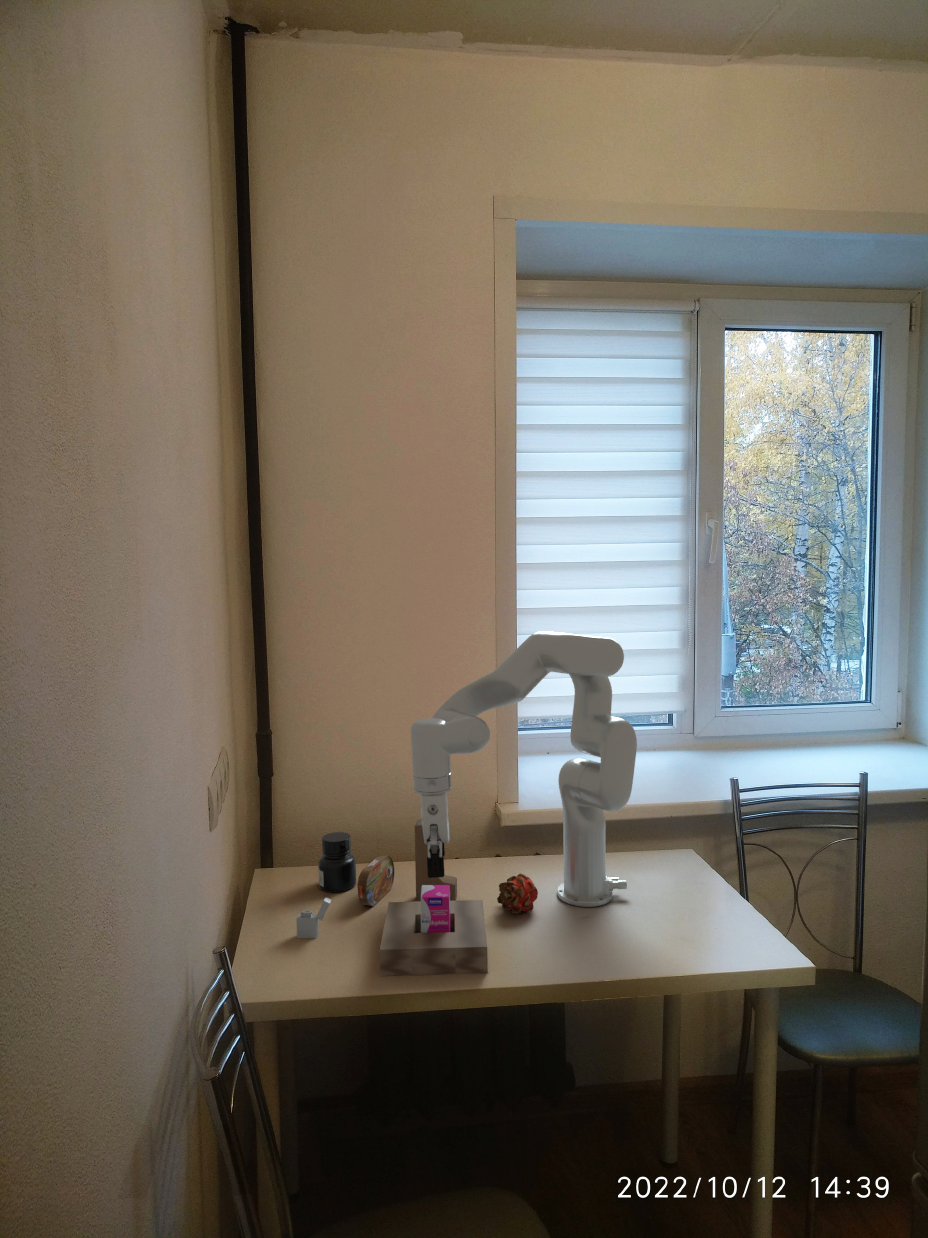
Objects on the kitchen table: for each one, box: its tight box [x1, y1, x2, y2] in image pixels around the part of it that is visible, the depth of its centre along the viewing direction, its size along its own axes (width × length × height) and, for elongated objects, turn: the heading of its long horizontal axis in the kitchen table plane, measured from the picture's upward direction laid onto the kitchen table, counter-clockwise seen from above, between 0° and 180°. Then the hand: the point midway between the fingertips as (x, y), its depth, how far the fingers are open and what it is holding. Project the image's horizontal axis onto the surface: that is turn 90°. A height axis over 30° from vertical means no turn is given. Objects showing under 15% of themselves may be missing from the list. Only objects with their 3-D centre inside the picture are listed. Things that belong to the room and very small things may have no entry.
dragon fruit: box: [496, 873, 539, 915], centre depth 164 cm, size 8×8×12 cm
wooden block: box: [414, 818, 458, 902], centre depth 170 cm, size 9×4×18 cm, turn 85°
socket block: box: [379, 899, 489, 977], centre depth 148 cm, size 20×20×5 cm
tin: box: [356, 855, 395, 907], centre depth 172 cm, size 15×3×8 cm, turn 161°
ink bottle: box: [317, 831, 357, 893], centre depth 178 cm, size 10×9×12 cm
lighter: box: [295, 897, 332, 939], centre depth 154 cm, size 7×2×8 cm, turn 86°
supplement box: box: [421, 885, 450, 933], centre depth 148 cm, size 6×6×12 cm
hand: (436, 866), depth 148 cm, fingers open, 9 cm apart
